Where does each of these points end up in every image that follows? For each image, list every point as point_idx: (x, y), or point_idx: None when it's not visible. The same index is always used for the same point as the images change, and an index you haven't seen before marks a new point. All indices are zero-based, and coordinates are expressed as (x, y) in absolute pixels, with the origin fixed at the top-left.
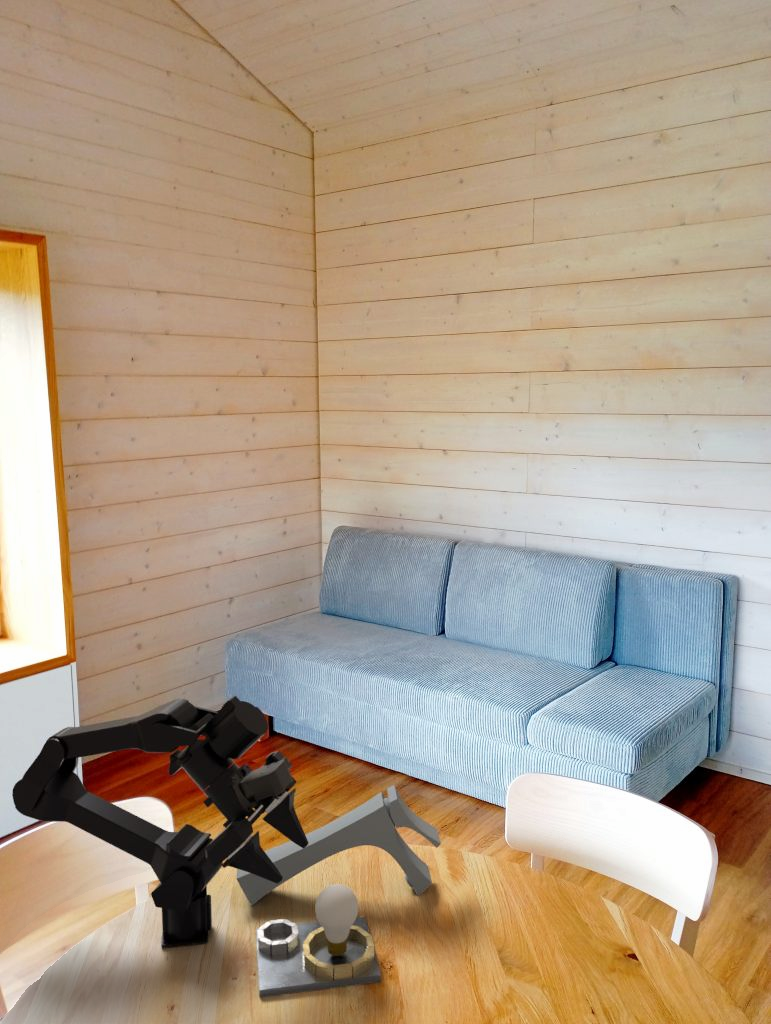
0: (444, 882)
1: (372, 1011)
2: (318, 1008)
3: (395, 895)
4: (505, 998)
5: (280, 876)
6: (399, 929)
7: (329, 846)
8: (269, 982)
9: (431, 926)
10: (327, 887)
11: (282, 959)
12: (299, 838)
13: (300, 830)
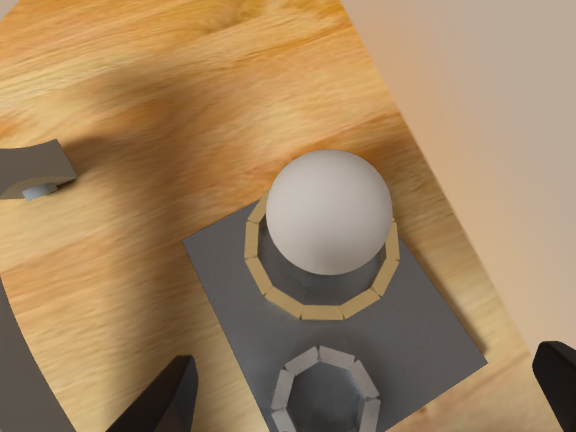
0: (27, 144)
1: (412, 153)
2: (449, 237)
3: (82, 217)
4: (308, 7)
5: (570, 350)
6: (191, 177)
7: (6, 360)
8: (457, 351)
9: (170, 130)
10: (329, 223)
11: (377, 358)
12: (181, 414)
13: (148, 423)
